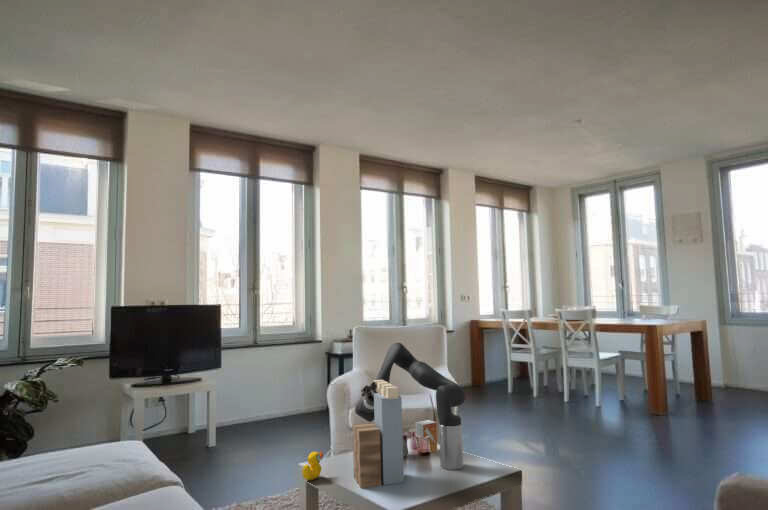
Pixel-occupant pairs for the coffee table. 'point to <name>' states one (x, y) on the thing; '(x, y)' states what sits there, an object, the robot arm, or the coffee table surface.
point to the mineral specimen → (405, 448)
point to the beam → (386, 389)
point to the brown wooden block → (366, 455)
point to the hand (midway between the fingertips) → (381, 383)
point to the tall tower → (390, 438)
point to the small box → (428, 432)
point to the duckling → (312, 466)
